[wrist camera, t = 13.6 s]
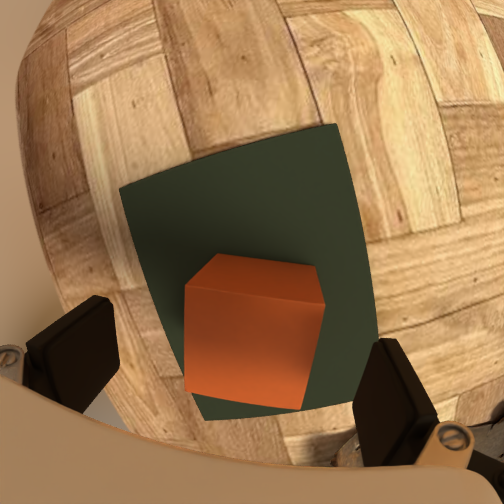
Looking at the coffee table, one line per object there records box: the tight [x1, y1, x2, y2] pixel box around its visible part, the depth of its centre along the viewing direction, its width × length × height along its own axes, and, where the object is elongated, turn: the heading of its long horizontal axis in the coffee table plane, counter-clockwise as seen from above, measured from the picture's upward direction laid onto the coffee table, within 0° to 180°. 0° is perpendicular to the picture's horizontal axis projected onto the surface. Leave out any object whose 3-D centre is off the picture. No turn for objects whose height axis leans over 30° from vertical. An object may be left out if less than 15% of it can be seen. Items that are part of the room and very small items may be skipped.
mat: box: [119, 123, 379, 421], centre depth 16 cm, size 16×12×1 cm
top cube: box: [184, 253, 325, 410], centre depth 13 cm, size 5×5×5 cm
